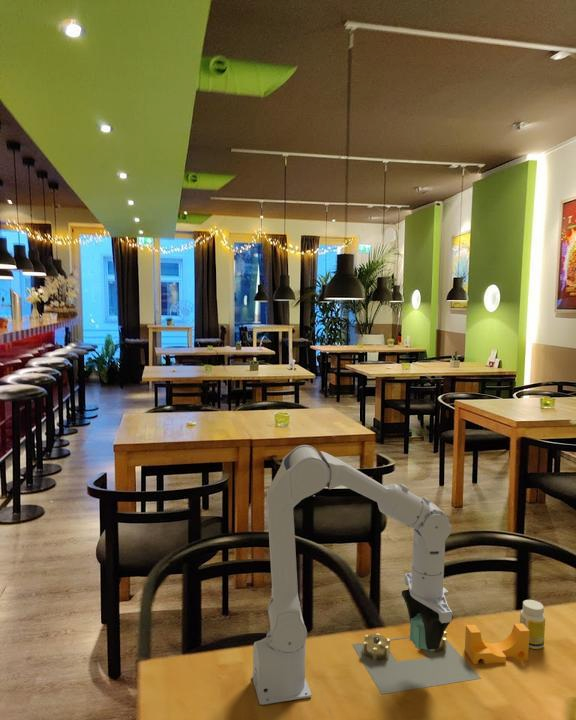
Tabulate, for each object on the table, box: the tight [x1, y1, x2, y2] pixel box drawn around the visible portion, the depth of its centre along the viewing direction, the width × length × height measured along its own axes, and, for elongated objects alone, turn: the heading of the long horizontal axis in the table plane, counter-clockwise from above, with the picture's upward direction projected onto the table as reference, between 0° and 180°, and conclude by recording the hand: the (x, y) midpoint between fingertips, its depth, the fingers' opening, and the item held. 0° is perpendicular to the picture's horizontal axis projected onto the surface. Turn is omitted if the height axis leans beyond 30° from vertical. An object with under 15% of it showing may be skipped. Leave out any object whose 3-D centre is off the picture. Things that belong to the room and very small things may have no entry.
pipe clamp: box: [464, 623, 530, 665], centre depth 107 cm, size 12×4×6 cm, turn 94°
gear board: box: [351, 630, 482, 695], centre depth 105 cm, size 20×15×4 cm
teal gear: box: [409, 614, 440, 651], centre depth 100 cm, size 5×5×4 cm
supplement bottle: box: [519, 599, 546, 650], centre depth 113 cm, size 5×5×8 cm
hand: (424, 638), depth 100 cm, fingers closed on teal gear, 5 cm apart
